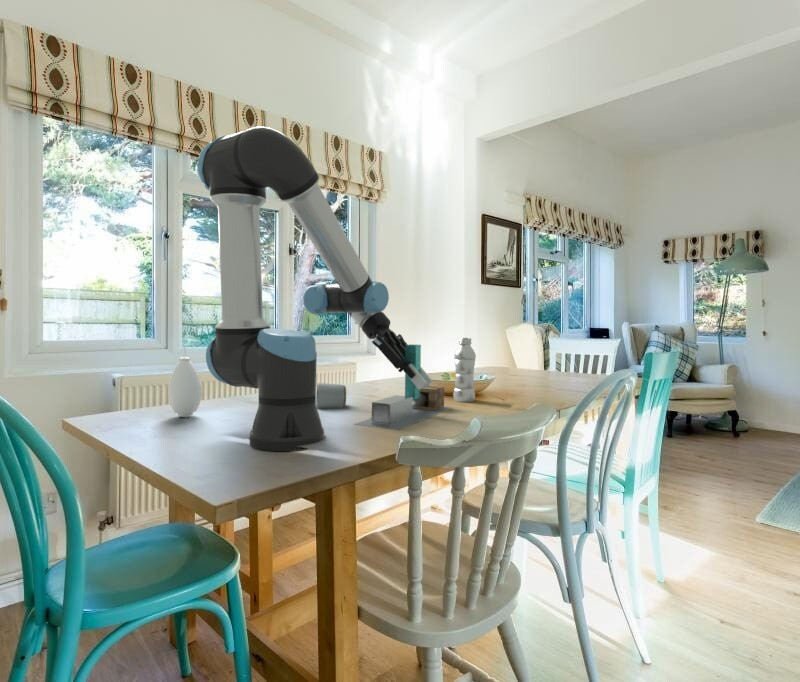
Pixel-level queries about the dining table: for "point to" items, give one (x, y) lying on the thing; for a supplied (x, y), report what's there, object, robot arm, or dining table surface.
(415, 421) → the base board
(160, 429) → the dining table surface
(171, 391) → the white vase
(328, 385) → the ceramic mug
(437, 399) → the socket block
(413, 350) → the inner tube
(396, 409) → the sleeve
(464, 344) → the plastic bottle
